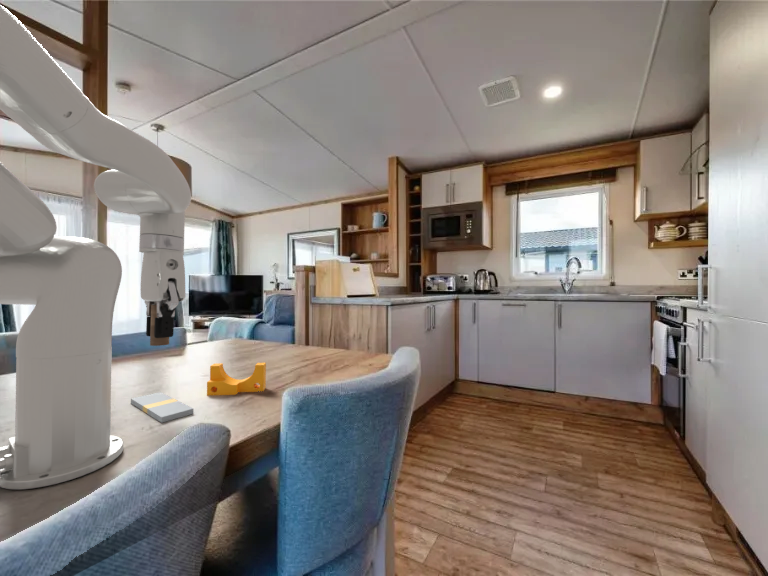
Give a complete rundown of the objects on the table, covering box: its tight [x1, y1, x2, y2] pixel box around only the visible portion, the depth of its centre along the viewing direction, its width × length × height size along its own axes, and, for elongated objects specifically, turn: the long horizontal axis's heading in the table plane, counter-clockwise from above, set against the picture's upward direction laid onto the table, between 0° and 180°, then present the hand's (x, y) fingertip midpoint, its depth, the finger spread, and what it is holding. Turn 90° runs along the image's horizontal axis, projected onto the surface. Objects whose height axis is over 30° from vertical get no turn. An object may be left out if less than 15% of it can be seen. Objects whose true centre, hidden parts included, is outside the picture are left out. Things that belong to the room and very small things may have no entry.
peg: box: [149, 300, 170, 347], centre depth 66 cm, size 3×3×9 cm
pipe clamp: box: [206, 362, 267, 396], centre depth 77 cm, size 12×4×6 cm, turn 98°
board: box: [130, 391, 194, 424], centre depth 66 cm, size 6×16×1 cm, turn 54°
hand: (159, 335), depth 66 cm, fingers closed on peg, 3 cm apart
